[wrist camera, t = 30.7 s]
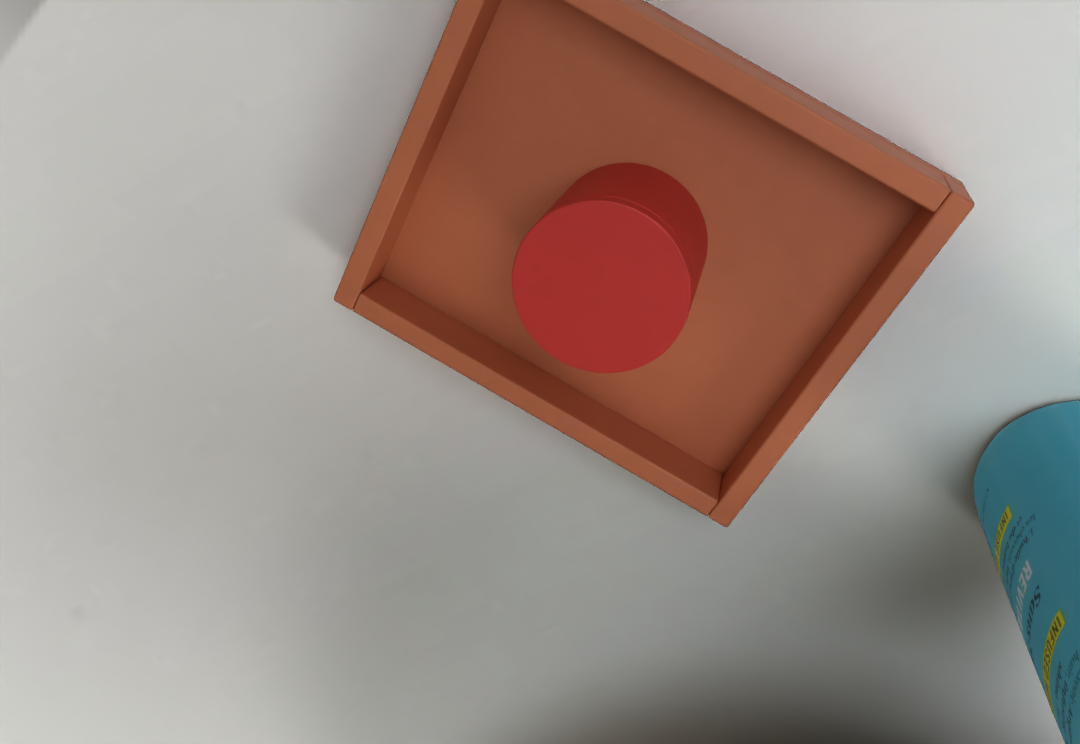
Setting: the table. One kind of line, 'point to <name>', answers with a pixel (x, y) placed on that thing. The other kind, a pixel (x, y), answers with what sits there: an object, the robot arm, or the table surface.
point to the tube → (1039, 543)
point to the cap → (611, 269)
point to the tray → (716, 185)
